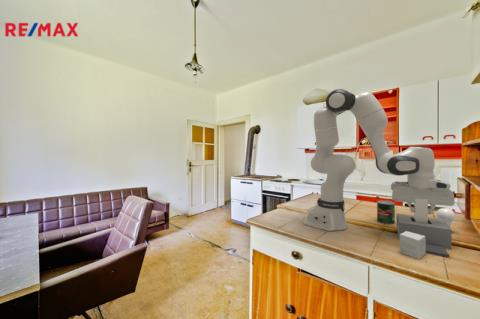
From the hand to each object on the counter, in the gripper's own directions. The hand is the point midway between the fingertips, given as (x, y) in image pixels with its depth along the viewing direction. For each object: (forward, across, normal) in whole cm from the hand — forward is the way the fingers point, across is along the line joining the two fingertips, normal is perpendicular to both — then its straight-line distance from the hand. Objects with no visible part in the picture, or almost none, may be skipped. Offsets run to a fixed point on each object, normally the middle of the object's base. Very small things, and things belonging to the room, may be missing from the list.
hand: (420, 212), depth 86 cm
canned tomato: (+12, -12, +16) cm, 23 cm away
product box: (+12, -5, -18) cm, 22 cm away
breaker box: (+12, 0, 0) cm, 12 cm away
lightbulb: (+12, +11, +15) cm, 22 cm away
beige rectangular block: (+7, 0, 0) cm, 7 cm away
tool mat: (+12, +2, -12) cm, 17 cm away
